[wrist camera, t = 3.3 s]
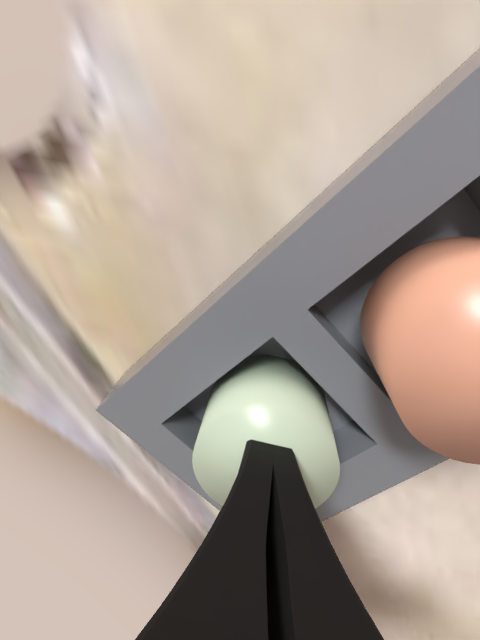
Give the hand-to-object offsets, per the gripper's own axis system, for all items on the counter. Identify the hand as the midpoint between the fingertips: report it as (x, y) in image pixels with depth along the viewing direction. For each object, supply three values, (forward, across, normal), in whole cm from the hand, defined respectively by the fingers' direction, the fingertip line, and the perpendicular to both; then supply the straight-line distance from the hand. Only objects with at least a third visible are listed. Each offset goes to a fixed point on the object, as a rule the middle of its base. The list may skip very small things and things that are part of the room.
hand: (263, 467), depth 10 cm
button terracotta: (+1, -4, -5) cm, 7 cm away
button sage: (+3, 0, 0) cm, 3 cm away
